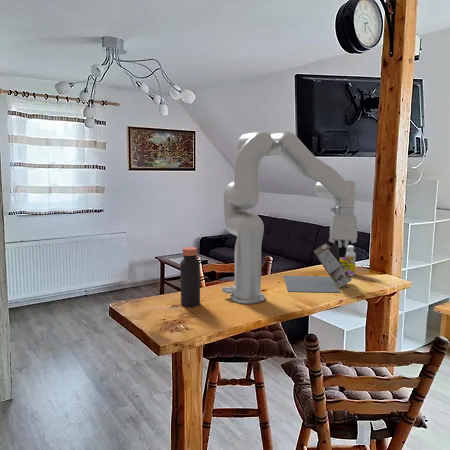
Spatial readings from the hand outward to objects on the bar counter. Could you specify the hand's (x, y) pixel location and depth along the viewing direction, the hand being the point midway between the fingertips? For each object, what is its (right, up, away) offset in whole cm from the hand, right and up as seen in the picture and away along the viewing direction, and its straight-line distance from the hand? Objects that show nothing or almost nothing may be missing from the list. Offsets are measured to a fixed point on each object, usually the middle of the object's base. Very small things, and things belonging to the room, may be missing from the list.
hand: (341, 256), depth 170 cm
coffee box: (+1, -10, +2) cm, 10 cm away
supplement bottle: (+7, -9, +18) cm, 22 cm away
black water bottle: (-59, -15, -21) cm, 64 cm away
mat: (-12, -11, +3) cm, 17 cm away
